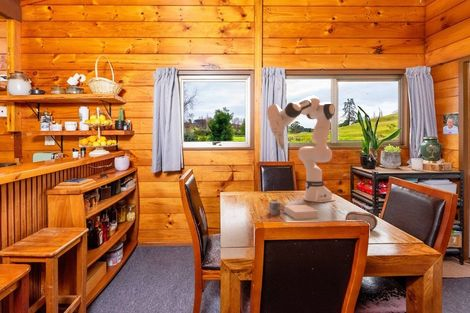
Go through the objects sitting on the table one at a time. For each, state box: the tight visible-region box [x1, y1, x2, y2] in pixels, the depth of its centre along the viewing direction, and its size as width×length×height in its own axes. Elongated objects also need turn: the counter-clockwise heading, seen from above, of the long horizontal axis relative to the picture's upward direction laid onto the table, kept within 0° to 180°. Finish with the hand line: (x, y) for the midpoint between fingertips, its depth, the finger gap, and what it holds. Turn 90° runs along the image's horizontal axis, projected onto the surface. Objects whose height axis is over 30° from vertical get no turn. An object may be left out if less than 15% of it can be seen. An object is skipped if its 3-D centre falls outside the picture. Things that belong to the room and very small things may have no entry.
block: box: [269, 200, 281, 216], centre depth 188 cm, size 5×5×7 cm
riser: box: [283, 204, 319, 220], centre depth 185 cm, size 14×16×4 cm
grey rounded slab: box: [345, 211, 378, 231], centre depth 158 cm, size 15×3×8 cm, turn 59°
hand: (282, 146), depth 193 cm, fingers open, 8 cm apart
